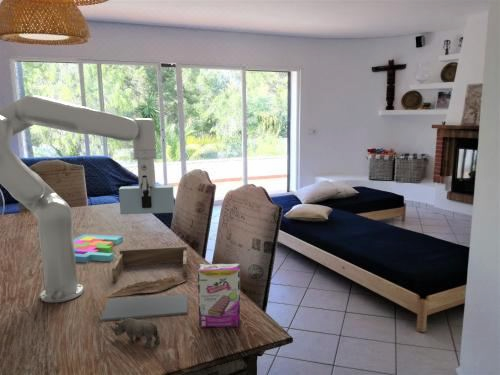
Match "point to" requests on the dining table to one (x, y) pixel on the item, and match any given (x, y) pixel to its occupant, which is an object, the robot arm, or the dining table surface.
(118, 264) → the open wooden box
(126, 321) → the rhino figurine
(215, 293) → the candy bar box
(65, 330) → the dining table surface
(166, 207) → the pale blue rectangular block
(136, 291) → the fossil stone slab
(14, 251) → the dining table surface
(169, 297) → the mat
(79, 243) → the tetris game
